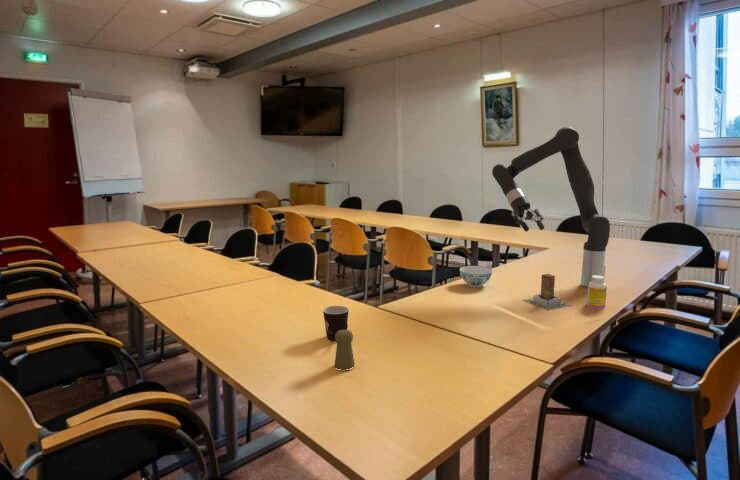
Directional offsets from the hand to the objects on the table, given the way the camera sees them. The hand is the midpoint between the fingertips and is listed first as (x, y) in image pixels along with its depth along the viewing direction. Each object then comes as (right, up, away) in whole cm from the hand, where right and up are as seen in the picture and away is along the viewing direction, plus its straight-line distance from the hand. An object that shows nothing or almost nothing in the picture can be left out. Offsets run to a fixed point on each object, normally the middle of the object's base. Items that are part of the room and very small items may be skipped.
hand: (535, 229), depth 199 cm
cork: (-79, -42, -64) cm, 109 cm away
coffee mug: (-82, -38, -44) cm, 101 cm away
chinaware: (-21, -26, +19) cm, 39 cm away
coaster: (+1, -31, -10) cm, 33 cm away
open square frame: (+1, -30, -11) cm, 32 cm away
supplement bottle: (+19, -32, -14) cm, 40 cm away
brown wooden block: (+1, -29, -11) cm, 31 cm away
